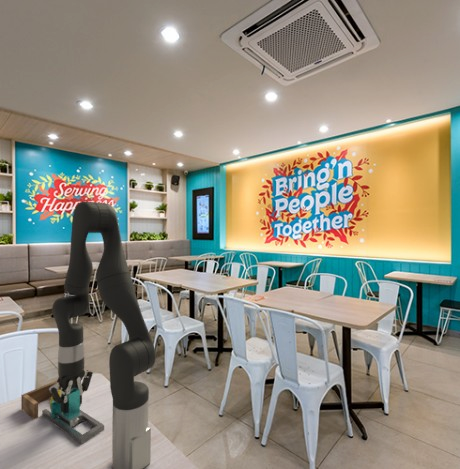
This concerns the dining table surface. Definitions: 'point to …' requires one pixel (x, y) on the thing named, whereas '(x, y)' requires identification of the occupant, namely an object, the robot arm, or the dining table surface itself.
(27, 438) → the dining table surface
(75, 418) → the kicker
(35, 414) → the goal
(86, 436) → the rails
